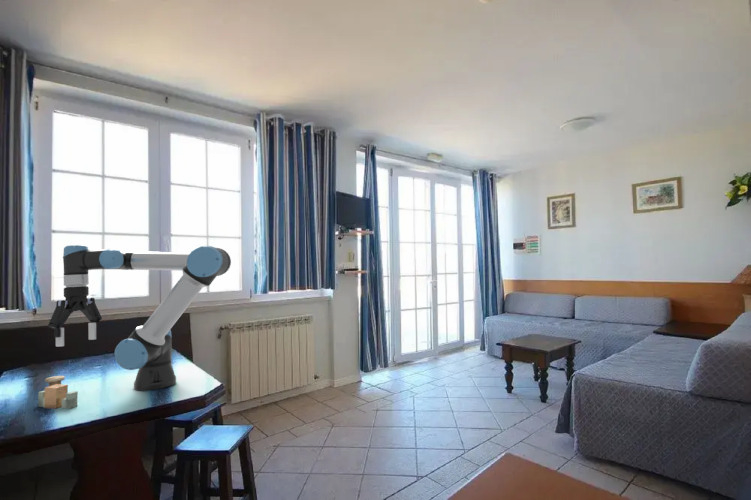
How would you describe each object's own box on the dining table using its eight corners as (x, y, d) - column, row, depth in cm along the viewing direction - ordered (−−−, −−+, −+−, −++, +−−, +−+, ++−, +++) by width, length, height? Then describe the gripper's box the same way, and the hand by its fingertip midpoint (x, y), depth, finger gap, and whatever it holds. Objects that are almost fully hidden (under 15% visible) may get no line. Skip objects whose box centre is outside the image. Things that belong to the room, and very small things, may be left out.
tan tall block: (67, 404, 139) (67, 384, 139) (55, 408, 135) (56, 388, 135) (56, 404, 140) (56, 384, 140) (44, 408, 136) (44, 387, 136)
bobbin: (71, 397, 148) (71, 375, 148) (52, 403, 141) (52, 380, 141) (56, 396, 149) (57, 374, 150) (37, 402, 143) (37, 379, 143)
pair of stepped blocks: (77, 406, 137) (77, 391, 137) (70, 408, 135) (70, 393, 135) (45, 404, 140) (45, 389, 140) (38, 406, 138) (38, 392, 138)
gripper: (95, 285, 162) (96, 337, 160) (34, 288, 137) (35, 349, 136) (111, 284, 160) (112, 336, 159) (53, 287, 136) (54, 349, 135)
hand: (76, 342), depth 148 cm, fingers open, 13 cm apart
